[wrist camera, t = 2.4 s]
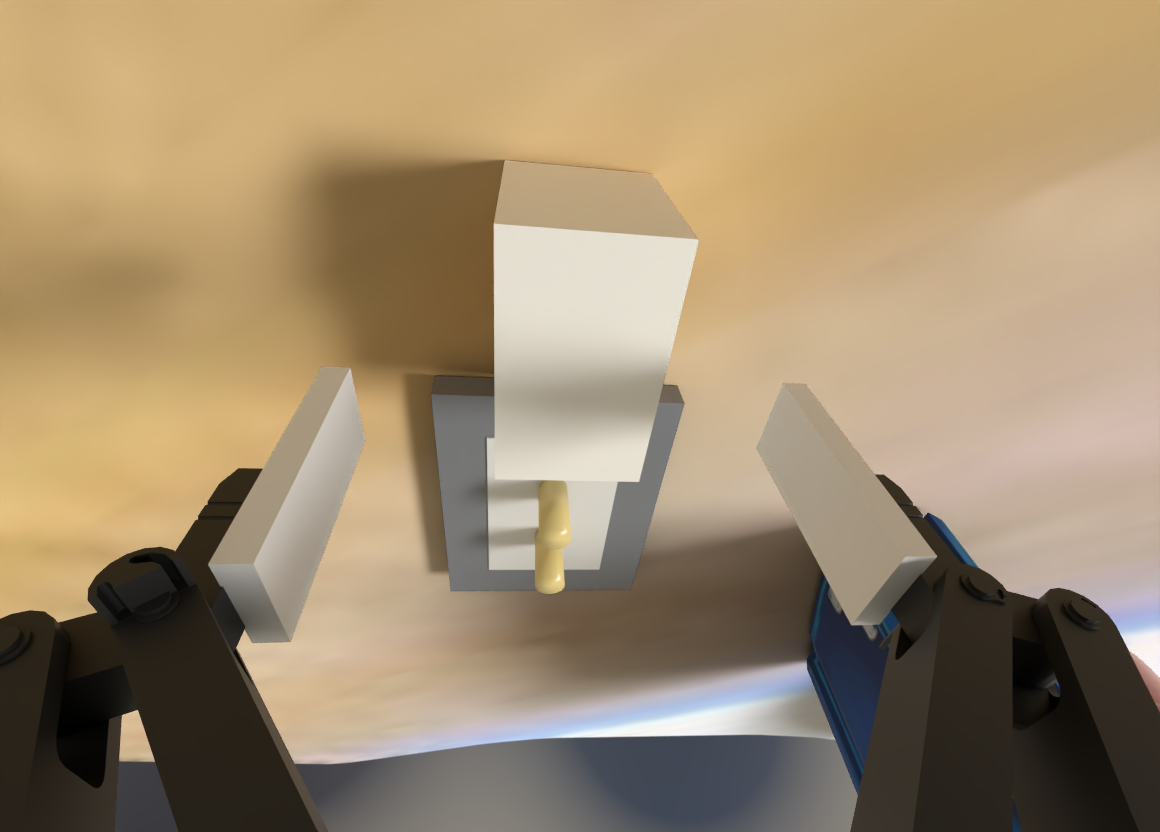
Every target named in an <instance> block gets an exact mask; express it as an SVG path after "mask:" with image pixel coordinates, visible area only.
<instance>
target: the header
mask: <svg viewBox="0 0 1160 832" xmlns="http://www.w3.org/2000/svg"><path fill="white" fill-rule="evenodd" d="M431 400H432V410H433V420H434V430H435V440H436V450H437V460H438V470H439V480H440V490H441V500H442V509H443V519H444V529H445V539H446V549H447V559H448V569H449V579H450V589H451V591H539V592H541V593H544V594H553V593H557V592H559V591H561V590H631V588H632V584H633V581H634V577H635V574H636V570H637V567H638V563H639V560H640V556H641V553H642V549H643V546H644V542H645V539H646V535H647V532H648V528H649V525H650V521H651V518H652V514H653V511H654V508H655V504H656V501H657V497H658V494H659V490H660V487H661V483H662V480H663V476H664V473H665V469H666V466H667V462H668V459H669V455H670V452H671V448H672V445H673V441H674V438H675V434H676V431H677V427H678V424H679V421H680V417H681V414H682V410H683V407H684V402H683V399H682V396H681V394H680V391H679V388H678V386H671V385H663V387H662V391H661V395H660V399H659V403H658V407H657V411H656V415H655V419H654V423H653V428H652V432H651V436H650V440H649V444H648V448H647V452H646V456H645V460H644V464H643V468H642V472H641V476H640V480H639V482H616V481H559V480H503V479H495V404H494V378H477V377H453V376H436V377H435V381H434V384H433V388H432V392H431Z"/></svg>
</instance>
